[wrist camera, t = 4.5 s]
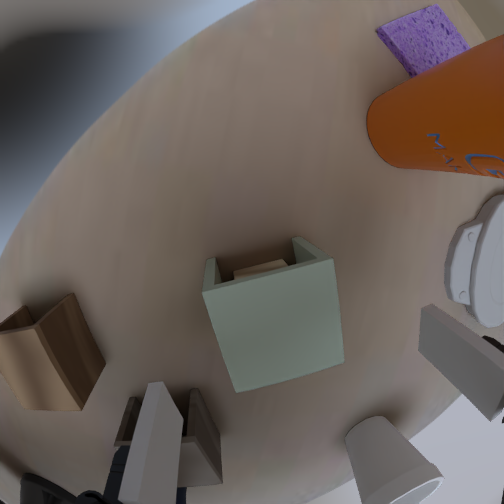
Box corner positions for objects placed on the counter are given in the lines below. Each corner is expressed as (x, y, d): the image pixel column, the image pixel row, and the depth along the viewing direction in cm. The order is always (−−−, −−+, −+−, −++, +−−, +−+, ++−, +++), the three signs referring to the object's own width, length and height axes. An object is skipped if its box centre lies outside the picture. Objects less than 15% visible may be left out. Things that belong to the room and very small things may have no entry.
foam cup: (370, 400, 28) (422, 478, 16) (408, 413, 30) (455, 474, 18) (319, 448, 29) (350, 527, 17) (362, 456, 31) (395, 519, 19)
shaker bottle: (351, 76, 20) (542, -27, 1) (428, 93, 21) (598, 58, 1) (359, 177, 22) (608, 202, 3) (435, 181, 23) (622, 210, 3)
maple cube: (244, 315, 24) (249, 339, 20) (233, 270, 23) (236, 288, 19) (290, 303, 24) (303, 324, 20) (282, 258, 23) (294, 273, 19)
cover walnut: (52, 369, 23) (24, 409, 16) (21, 306, 21) (-18, 337, 14) (106, 363, 23) (81, 411, 17) (73, 293, 21) (34, 328, 15)
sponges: (462, 54, 20) (472, 50, 18) (414, 89, 21) (426, 85, 19) (428, 8, 19) (437, 2, 17) (371, 32, 19) (380, 25, 17)
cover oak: (158, 441, 26) (151, 487, 20) (129, 397, 24) (113, 446, 18) (219, 434, 27) (222, 483, 20) (197, 388, 25) (194, 442, 18)
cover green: (230, 340, 24) (235, 393, 17) (206, 259, 22) (201, 292, 15) (314, 318, 24) (344, 362, 18) (299, 236, 23) (333, 258, 16)
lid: (448, 182, 23) (468, 183, 20) (527, 196, 25) (541, 198, 23) (428, 335, 27) (443, 347, 24) (510, 307, 29) (523, 314, 27)
